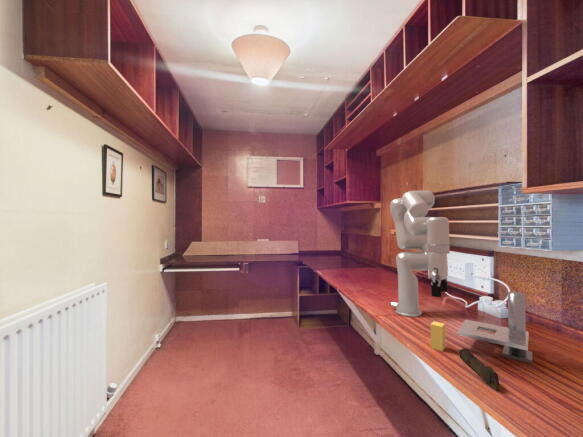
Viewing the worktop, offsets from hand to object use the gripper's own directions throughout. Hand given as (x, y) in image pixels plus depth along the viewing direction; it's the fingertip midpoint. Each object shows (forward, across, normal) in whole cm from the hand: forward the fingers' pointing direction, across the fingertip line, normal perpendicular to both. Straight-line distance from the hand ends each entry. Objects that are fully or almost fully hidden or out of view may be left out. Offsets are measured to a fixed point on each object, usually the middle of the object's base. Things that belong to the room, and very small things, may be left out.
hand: (439, 294), depth 107 cm
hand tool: (+21, +12, +14) cm, 28 cm away
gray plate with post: (+20, -9, +16) cm, 27 cm away
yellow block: (+20, +1, -1) cm, 20 cm away
